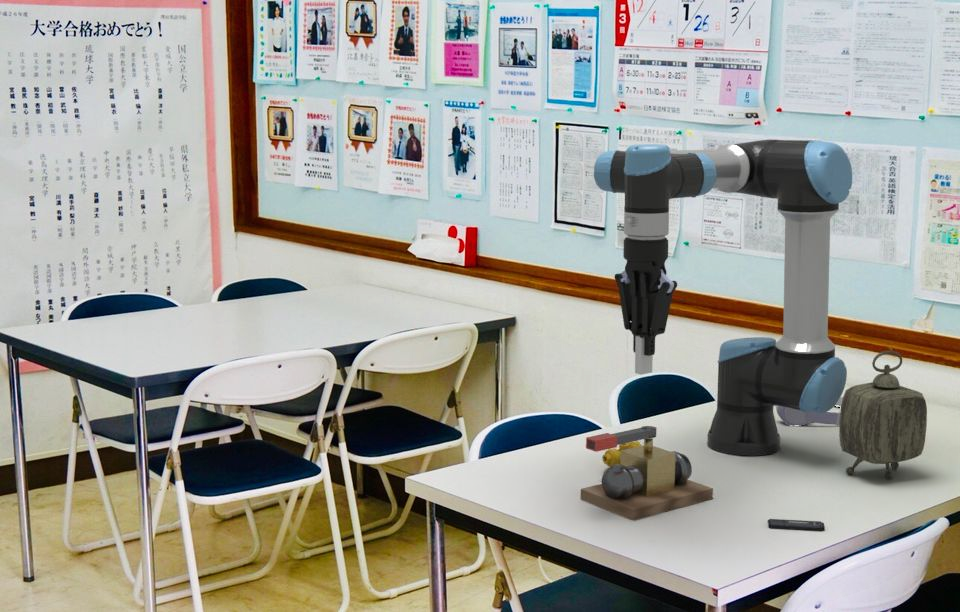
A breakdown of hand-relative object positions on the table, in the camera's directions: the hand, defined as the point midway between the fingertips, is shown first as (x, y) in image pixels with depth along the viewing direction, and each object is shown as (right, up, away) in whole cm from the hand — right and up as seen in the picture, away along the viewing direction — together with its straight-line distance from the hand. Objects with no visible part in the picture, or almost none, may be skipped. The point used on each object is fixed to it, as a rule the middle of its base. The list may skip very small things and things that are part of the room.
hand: (643, 372), depth 211 cm
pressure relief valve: (+2, -22, +30) cm, 37 cm away
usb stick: (+26, -27, 0) cm, 38 cm away
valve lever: (-3, -13, +8) cm, 16 cm away
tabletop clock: (+50, -22, +28) cm, 62 cm away
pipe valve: (+2, -23, +14) cm, 27 cm away
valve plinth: (+2, -24, +14) cm, 28 cm away
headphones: (+50, -14, +74) cm, 91 cm away
